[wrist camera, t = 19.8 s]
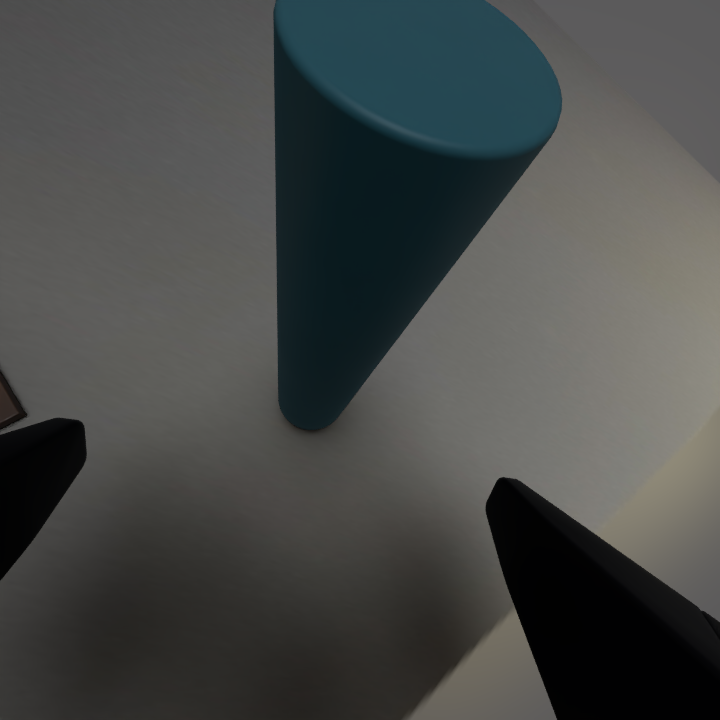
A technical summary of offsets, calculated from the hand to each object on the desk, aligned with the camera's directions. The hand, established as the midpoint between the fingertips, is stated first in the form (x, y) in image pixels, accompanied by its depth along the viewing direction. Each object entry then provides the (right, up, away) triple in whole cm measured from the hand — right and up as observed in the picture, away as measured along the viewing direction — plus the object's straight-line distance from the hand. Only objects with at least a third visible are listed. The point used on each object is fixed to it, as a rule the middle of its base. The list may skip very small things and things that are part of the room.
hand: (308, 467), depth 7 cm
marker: (-1, 0, +8) cm, 8 cm away
